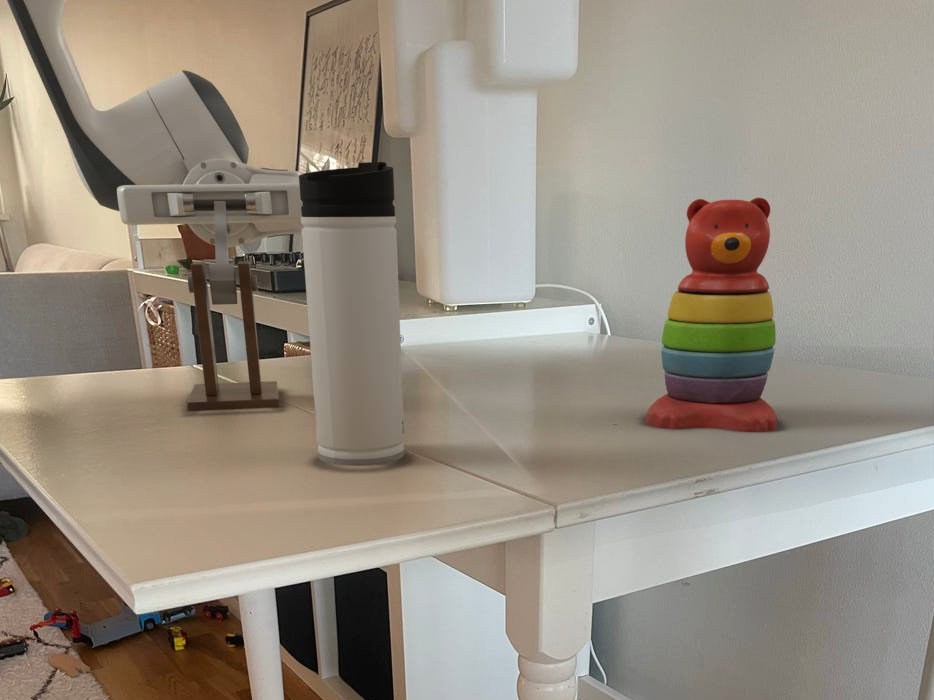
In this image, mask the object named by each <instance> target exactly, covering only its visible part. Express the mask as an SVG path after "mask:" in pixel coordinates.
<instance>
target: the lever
mask: <svg viewBox="0 0 934 700" xmlns="http://www.w3.org/2000/svg"><path fill="white" fill-rule="evenodd" d="M194 208H195V211H214V218H215V245H214V246H215V247H214V248H215V249H214V250H215V263H208V283H209V290H210V291H209V292H210V296H211V297H210V298H211V304H212V305H213V306H215V305H216V306H217V305H238V290H237V289H238V285H237V278H236V271H235V263H233V262H231V263H230V259H229V258H230V256H229V247H228V232H227V211H246V201H245V199H194Z"/></svg>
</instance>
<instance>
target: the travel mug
mask: <svg viewBox="0 0 934 700" xmlns="http://www.w3.org/2000/svg"><path fill="white" fill-rule="evenodd" d="M394 176H395V175H394V167H392V166H387V162H385V161H367V162H366V161H365V162H364V161H363V162H358V164H357V166H356V167H355V166H354V167H345V168H343V167H342V168H333V169H324V170H316V171H309V172H304V173H300V175H299V186H300V199H301V201H302V203H303V205H302V206H301V214H302V217H301V223H302V225H303V226H304V229H303V230H302V233H301V237H302V251H303V253H302V254H303V264H304V265H303V266H304V278H305V291H306V293H305V294H306V307H307V320H308V334H309V348H310V360H311V376H312V387H313V389H312V391H313V401H314V402H313V403H314V415H315V416H314V417H315V418H314V419H315V430H316V440H317V443H318V445H317V456H318V457H317V458H318V459H319V460H320V461H322V462H324V463H326V464H332V465H337V466H338V465H339V466H354V467H355V466H357V467H358V466H374V465H381V464H388V463H392V462H395V461H398V460H401V459H402V458H404V456H405V443H404V439H405V433H404V431H405V429H404V428H405V427H404V404H403V403H404V402H403V398H404V397H403V376H402V374H403V372H402V347H401V345H402V344H401V343H402V342H401V321H400V319H401V317H400V316H401V315H400V292H399V291H400V290H399V264H398V235H397V234H398V233H397V232H398V231H397V229H396V228H395V225H396V224H397V216H396V207H395V205H394V201H395V179H394V178H395V177H394Z"/></svg>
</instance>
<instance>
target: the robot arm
mask: <svg viewBox="0 0 934 700" xmlns="http://www.w3.org/2000/svg"><path fill="white" fill-rule="evenodd" d="M6 1H7V4H8V6H9V9H10V11H11V14H12V15H13V18H14V20H15V22H16V26H17V27H18V29H19V32H20V34H21V37H22V39H23V41H24V44H25V46H26V48H27V51H28V54H29V56H30V58H31V60H32V63H33V64H34V67H35V69H36V71H37V74H38V76H39V78H40V80H41V82H42V85H43V87H44V89H45V91H46V93H47V96H48V98H49V101H50V103H51V104H52V107H53V109H54V112H55V114H56V116H57V119H58V120H59V123H60V125H61V128H62V129H63V133H64V135H65V137H66V140H67V143H68V147H69V150H70V151H69V152H70V154H71V159H72V162H73V164H74V167H75V169H76V172H77V174H78V177H79V178H80V180H81V183H82V184H83V186H84V188H85V189H86V191H87V193H89V195H90V196H91V197H92V198H94V200H95V201H96V203H98V205H99V206H101V207H104V208H106V209H109V210H113V211H117V212H119V216H120V220H121V222H122V223H123V224H124V225H129V226H142V225H143V226H144V225H146V226H147V225H151V226H152V225H188V227H189V229H190V230H192V232H193V234H195V235H196V236H197V237H198V238H199V239H201V240H202V241H204V242H205V243H207V244H209V245H212V246H215V218H214V211H195V208H194V199H245V201H246V211H227V232H228V248H234V247H238V246H241V245H243V244H251V243H254V242H256V241H259V240H261V239H264V238H268V239H269V238H274V237H279V236H280V237H281V236H284V237H285V236H294V235H300V234H301V235H302V230H303V229H304V226H303V225H302V223H301V217H302V214H301V206H302V205H303V203H302V201H301V199H300V186H299V175H301V173H300V172H299V171H297V170H289V169H276V168H266V167H256V166H252V165H249V164H248V161H249V154H250V153H249V152H250V148H249V145H248V142H247V140H246V137H245V135H244V132H243V131H242V128H241V126H240V124H239V121H238V120H237V118H236V116H235V114H234V113H233V111H232V109H231V107H230V106H229V104H228V102H227V100H226V99H225V98H224V96H223V95H222V94H221V92H220V91H219V90H218V89H217V86H215V85H214V83H212V82H211V81H210V80H209V79H206V78H205V77H202V76H201V75H200V74H197V73H195V72H192V71H189V70H181V71H178V72H176V73H174V74H172V75H170V76H169V77H166V78H164V79H163V80H161V81H159V82H157V83H155V84H153V85H151V86H149V87H147V88H146V90H144V91H142V92H140V93H138V94H136V95H134V96H132V97H130V98H128V99H127V100H124V101H122V102H121V103H119V104H117V105H115V106H113V107H112V108H109V109H106V110H98V109H97V108H95V107H94V105H93V103H92V101H91V99H90V95H89V93H88V91H87V89H86V86H85V84H84V81H83V79H82V76H81V74H80V72H79V70H78V67H77V65H76V63H75V60H74V58H73V55H72V53H71V50H70V48H69V46H68V43H67V41H66V38H65V34H64V31H63V24H62V23H63V12H64V8H65V6H66V3H67V1H68V0H6Z"/></svg>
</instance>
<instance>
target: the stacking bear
mask: <svg viewBox="0 0 934 700" xmlns="http://www.w3.org/2000/svg"><path fill="white" fill-rule="evenodd" d="M770 214H771V205H770V203H769V202H768V200H766V199H765V198H763V197H754V198H752V199H751V200H749V201H748V200H743V199H719V200H715V201H712V202H709V201H707V200H706V199H704V198H696V199H694V200H693V201H692V202H691V203H690V204H689V205H688V207H687V210H686V217H687V220H688V226H687V228H686V231H685V239H684V240H685V241H684V246H685V254H686V258H687V261H688V264H689V266H690V268H691V269H692V271H691V273H690V274H687V275H686V276H685V277H683V278H682V279H681V281H680V282H679V284H678V286H677V291H675V292H674V293H672V297H671V300H670V303H669V307H668V311H667V319H666V320H665V322H664V326H663V331H662V337H661V345H662V347H661V349H660V352H661V363H662V369H663V370H664V382H665V388H666V392H667V393H666V394H664V395H662V396H661V397H659V398H658V399H657V400H655V401H654V402H653V403H652V404H651V405H650V407H649V408H648V410H647V413H646V418H645V419H646V420H645V424H646V425H647V426H650V427H654V428H658V429H670V430H681V429H682V430H683V429H698V428H699V429H700V428H702V429H705V428H707V429H721V430H730V431H735V432H736V431H737V432H744V433H752V432H753V433H754V432H755V433H766V432H772V431H775V430H777V426H778V418H777V414H776V412H775V410H774V408H773V407H772V406H771V405H770V404H769V403H768V402H767V401H766V400H765V399H763V398H762V397H761V396H762V395H763V392H764V389H765V387H766V383H767V380H768V377H769V376H768V375H769V374H768V372H769V371H770V370H771V367H772V363H773V360H774V354H775V348H774V346H775V344H776V342H777V341H776V338H777V337H776V336H777V335H776V322H775V320H774V319H773V318H774V304H773V299H772V295H771V292H770V291H769V289H770V285H769V282H768V280H767V279H766V277H765V276H764V275H763V274H761V273H759V272H758V269H759V267H760V266H761V265H762V263H763V261H764V260H765V257H766V254H767V252H768V249H769V245H770V240H771V239H770V238H771V229H770V223H769V220H768V218H769V217H770Z"/></svg>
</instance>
